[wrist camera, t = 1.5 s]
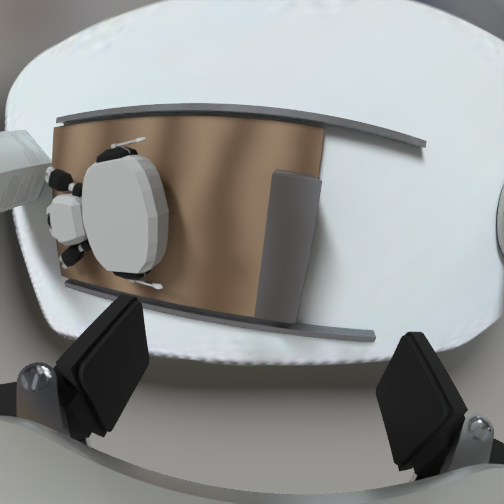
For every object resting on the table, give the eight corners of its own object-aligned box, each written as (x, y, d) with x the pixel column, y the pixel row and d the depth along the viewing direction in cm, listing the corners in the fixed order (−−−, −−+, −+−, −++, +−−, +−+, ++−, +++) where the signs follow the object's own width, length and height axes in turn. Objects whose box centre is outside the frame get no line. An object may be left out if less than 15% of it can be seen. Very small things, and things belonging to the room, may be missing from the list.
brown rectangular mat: (323, 128, 20) (338, 118, 14) (291, 319, 27) (291, 363, 21) (56, 127, 22) (15, 129, 16) (64, 274, 29) (31, 297, 23)
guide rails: (420, 141, 19) (426, 141, 18) (371, 335, 26) (374, 341, 25) (63, 117, 22) (56, 117, 21) (71, 282, 29) (65, 286, 28)
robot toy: (77, 263, 28) (186, 271, 25) (52, 278, 24) (163, 294, 21) (62, 160, 24) (173, 136, 21) (32, 166, 20) (145, 135, 17)
